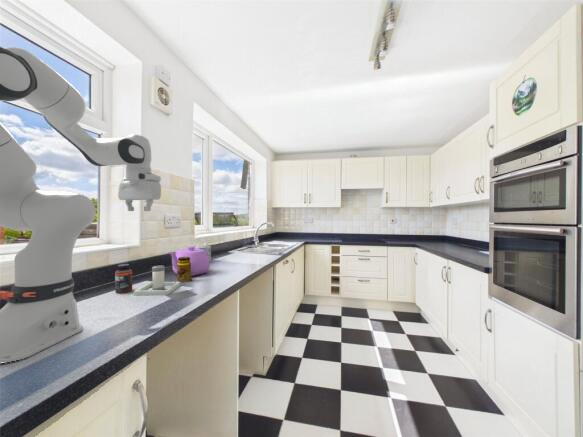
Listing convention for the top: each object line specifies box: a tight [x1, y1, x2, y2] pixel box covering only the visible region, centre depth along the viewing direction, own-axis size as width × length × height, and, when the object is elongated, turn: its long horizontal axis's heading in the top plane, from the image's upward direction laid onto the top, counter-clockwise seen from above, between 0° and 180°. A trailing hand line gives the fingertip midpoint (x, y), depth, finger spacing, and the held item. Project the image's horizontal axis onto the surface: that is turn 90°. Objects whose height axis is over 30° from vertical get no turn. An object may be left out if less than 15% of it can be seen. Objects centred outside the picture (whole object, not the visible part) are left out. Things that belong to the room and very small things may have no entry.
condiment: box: [175, 257, 193, 283], centre depth 119 cm, size 7×8×12 cm
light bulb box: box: [195, 245, 212, 263], centre depth 166 cm, size 11×7×11 cm, turn 153°
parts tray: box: [133, 281, 181, 296], centre depth 103 cm, size 13×13×2 cm
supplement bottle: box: [114, 263, 133, 294], centre depth 104 cm, size 6×6×11 cm
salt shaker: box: [151, 264, 166, 290], centre depth 103 cm, size 4×4×10 cm
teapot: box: [167, 245, 210, 278], centre depth 133 cm, size 23×21×15 cm
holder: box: [165, 289, 199, 302], centre depth 97 cm, size 9×9×1 cm
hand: (138, 211), depth 100 cm, fingers open, 8 cm apart
